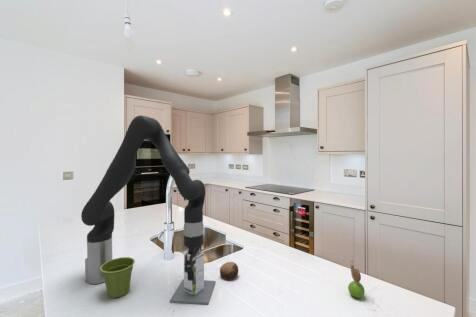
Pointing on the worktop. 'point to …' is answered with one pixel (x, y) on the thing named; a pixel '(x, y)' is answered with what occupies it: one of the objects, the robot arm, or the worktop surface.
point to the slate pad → (188, 298)
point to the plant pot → (118, 276)
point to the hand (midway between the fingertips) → (194, 274)
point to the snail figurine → (356, 283)
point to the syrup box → (195, 275)
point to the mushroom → (229, 270)
